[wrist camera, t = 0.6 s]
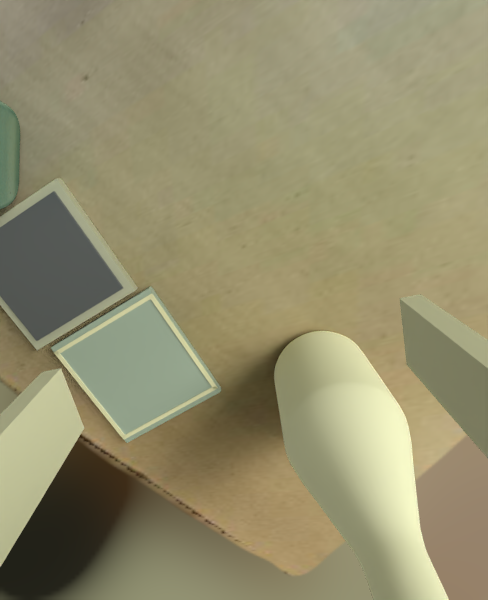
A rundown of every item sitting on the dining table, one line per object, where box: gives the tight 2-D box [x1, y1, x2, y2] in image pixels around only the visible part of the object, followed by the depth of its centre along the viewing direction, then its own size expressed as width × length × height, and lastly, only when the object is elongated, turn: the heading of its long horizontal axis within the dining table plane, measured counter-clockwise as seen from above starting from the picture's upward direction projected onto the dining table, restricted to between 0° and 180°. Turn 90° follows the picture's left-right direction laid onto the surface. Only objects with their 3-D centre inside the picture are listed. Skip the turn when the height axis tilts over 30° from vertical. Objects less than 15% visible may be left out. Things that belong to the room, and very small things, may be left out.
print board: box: [51, 286, 221, 443], centre depth 42 cm, size 13×12×1 cm
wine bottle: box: [274, 331, 449, 600], centre depth 28 cm, size 10×10×30 cm
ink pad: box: [0, 178, 138, 350], centre depth 39 cm, size 12×12×1 cm
